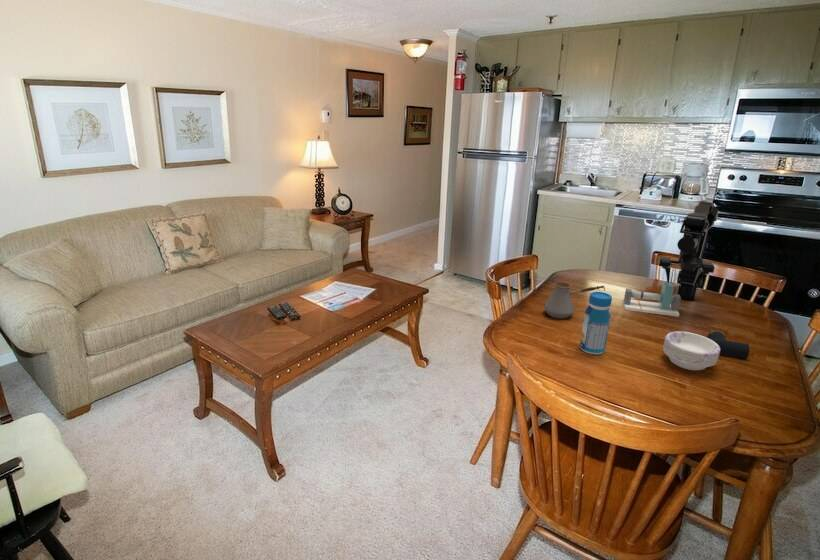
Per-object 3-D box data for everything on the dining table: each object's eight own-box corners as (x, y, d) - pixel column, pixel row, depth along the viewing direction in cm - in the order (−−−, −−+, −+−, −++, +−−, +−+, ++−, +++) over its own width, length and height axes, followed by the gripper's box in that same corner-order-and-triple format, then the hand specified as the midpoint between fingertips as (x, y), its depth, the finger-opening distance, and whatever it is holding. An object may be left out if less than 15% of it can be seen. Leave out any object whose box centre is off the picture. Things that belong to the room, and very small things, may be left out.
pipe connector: (692, 324, 162) (742, 332, 157) (689, 338, 164) (738, 346, 159) (697, 338, 152) (750, 347, 147) (693, 352, 154) (746, 361, 149)
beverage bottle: (593, 357, 149) (602, 301, 142) (573, 346, 156) (581, 292, 149) (610, 352, 153) (620, 297, 146) (590, 341, 160) (599, 288, 153)
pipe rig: (674, 307, 190) (677, 292, 188) (678, 316, 181) (682, 300, 179) (622, 301, 196) (625, 286, 194) (624, 309, 187) (627, 293, 185)
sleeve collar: (666, 302, 189) (671, 282, 186) (669, 307, 183) (674, 287, 180) (658, 301, 190) (663, 281, 187) (661, 306, 184) (665, 286, 181)
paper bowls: (715, 381, 136) (721, 357, 134) (658, 366, 144) (663, 344, 141) (714, 359, 149) (720, 338, 146) (662, 347, 156) (667, 327, 154)
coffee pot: (541, 317, 179) (545, 281, 174) (546, 307, 189) (550, 273, 184) (598, 328, 170) (604, 291, 165) (600, 316, 180) (606, 281, 175)
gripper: (664, 248, 173) (655, 287, 178) (721, 255, 166) (711, 295, 171) (662, 242, 183) (654, 279, 188) (716, 248, 175) (706, 286, 180)
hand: (680, 284), depth 181 cm, fingers open, 9 cm apart
